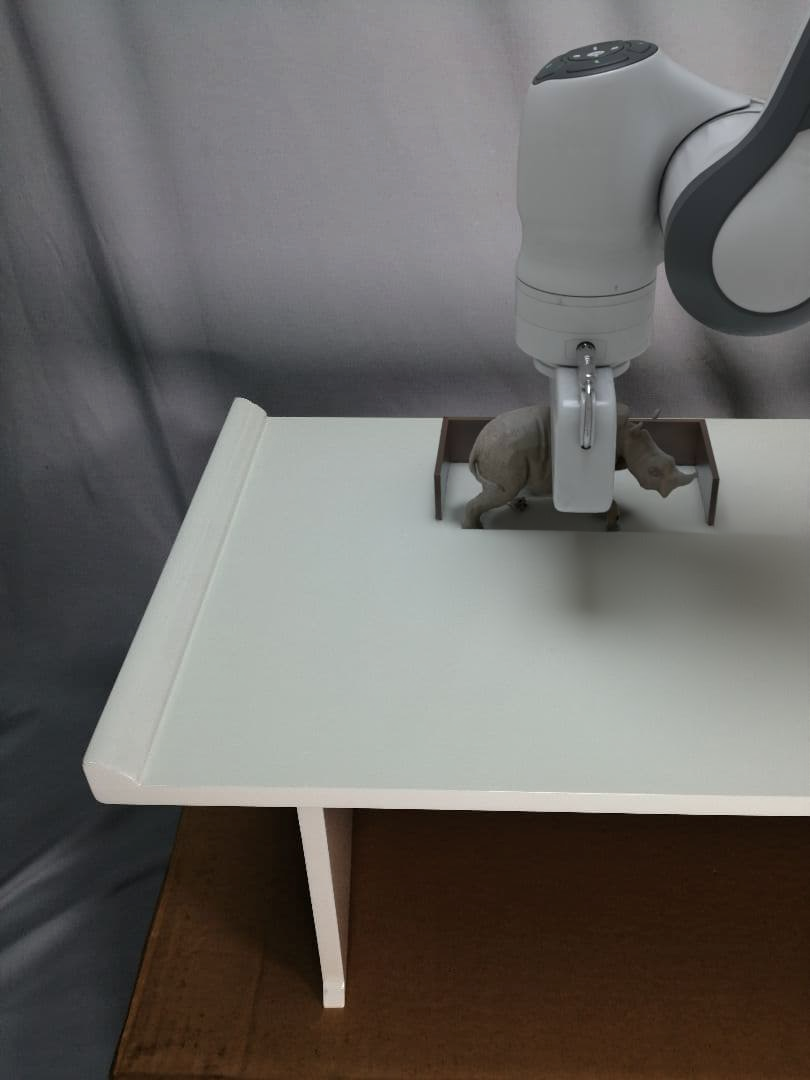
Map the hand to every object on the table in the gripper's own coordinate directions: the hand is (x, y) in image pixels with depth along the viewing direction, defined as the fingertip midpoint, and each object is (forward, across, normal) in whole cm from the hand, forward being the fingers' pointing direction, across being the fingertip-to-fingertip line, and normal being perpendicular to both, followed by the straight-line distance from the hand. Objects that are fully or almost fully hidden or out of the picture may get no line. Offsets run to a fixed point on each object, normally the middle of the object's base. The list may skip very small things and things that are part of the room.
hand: (574, 499), depth 83 cm
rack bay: (+5, +9, 0) cm, 10 cm away
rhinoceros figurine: (+5, +5, 0) cm, 7 cm away
